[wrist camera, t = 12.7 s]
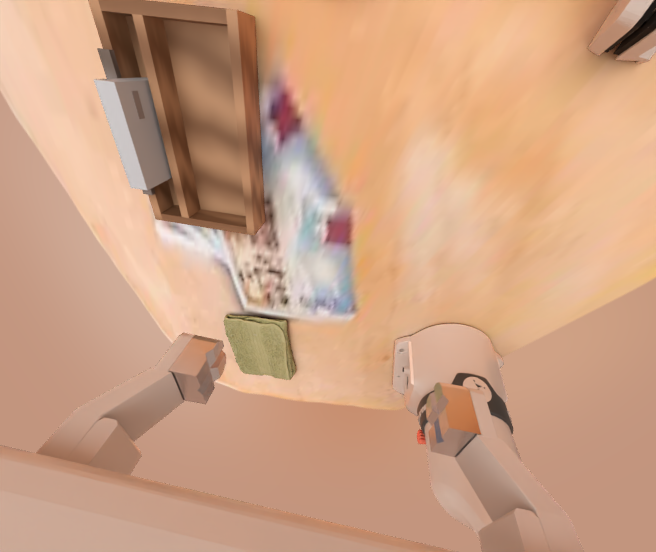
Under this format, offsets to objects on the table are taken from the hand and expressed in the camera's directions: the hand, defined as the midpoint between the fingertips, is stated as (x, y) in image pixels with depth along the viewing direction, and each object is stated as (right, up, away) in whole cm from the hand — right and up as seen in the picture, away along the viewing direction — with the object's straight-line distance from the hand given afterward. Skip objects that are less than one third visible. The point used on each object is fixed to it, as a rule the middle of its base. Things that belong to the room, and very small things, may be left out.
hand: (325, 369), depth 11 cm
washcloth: (-13, -10, +48) cm, 51 cm away
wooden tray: (-15, +21, +24) cm, 35 cm away
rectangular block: (-19, +21, +23) cm, 37 cm away
